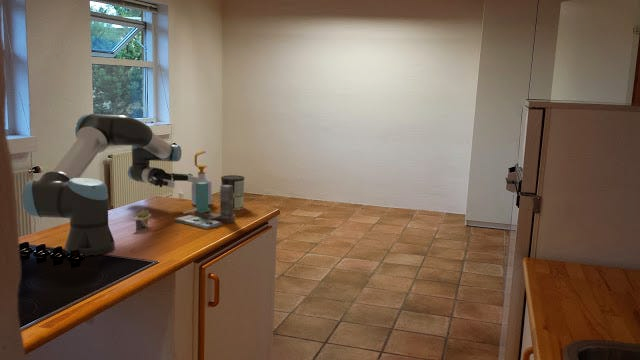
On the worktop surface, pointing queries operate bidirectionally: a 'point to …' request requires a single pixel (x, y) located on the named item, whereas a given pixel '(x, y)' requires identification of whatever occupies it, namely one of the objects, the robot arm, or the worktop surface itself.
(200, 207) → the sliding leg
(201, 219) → the plate
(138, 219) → the potted plant
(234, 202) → the coffee can
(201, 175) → the soap bottle
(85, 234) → the robot arm
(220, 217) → the grey l-shaped piece
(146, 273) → the worktop surface
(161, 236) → the worktop surface
